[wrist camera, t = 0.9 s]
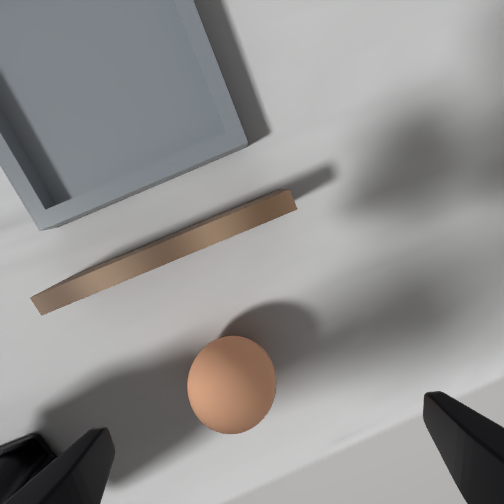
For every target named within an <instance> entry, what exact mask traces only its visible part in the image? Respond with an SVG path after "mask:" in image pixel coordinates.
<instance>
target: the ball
mask: <svg viewBox="0 0 504 504" xmlns="http://www.w3.org/2000/svg"><path fill="white" fill-rule="evenodd" d="M187 388H188V397H189V401H190V404H191V407H192V409H193V411H194V413H195V414H196V416H197V417H198V418H199V419H200V421H201V422H202V423H203V424H204V425H206V426H207V427H209V428H210V429H212V430H214V431H216V432H219V433H223V434H237V433H242V432H245V431H247V430H249V429H251V428H253V427H254V426H256V425H257V424H258V423H259V422H260V421H261V420H262V419H263V418H264V417H265V416H266V414H267V413H268V411H269V410H270V408H271V406H272V403H273V401H274V397H275V393H276V374H275V370H274V367H273V364H272V361H271V359H270V358H269V356H268V354H267V353H266V352H265V350H264V349H263V348H262V347H261V346H259V345H258V344H257V343H255V342H254V341H252V340H250V339H247V338H245V337H241V336H226V337H222V338H219V339H216V340H214V341H212V342H211V343H209V344H208V345H207V346H205V347H204V348H203V349H202V350H201V351H200V352H199V354H198V355H197V357H196V358H195V360H194V362H193V364H192V366H191V369H190V372H189V376H188V385H187Z"/></svg>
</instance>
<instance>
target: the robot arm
mask: <svg viewBox="0 0 504 504" xmlns="http://www.w3.org/2000/svg"><path fill="white" fill-rule="evenodd" d="M423 419H424V422H425V424H426V427H427V429H428V431H429V433H430V435H431V437H432V439H433V441H434V443H435V445H436V446H437V448H438V450H439V452H440V454H441V456H442V458H443V460H444V462H445V464H446V466H447V468H448V470H449V472H450V474H451V475H452V477H453V479H454V481H455V483H456V485H457V487H458V488H459V490H460V492H461V494H462V495H463V497H464V499H465V500H466V502H467V504H504V428H503V427H502V426H500V425H498V424H497V423H495V422H493V421H491V420H490V419H488V418H486V417H485V416H483V415H481V414H479V413H477V412H476V411H474V410H472V409H471V408H469V407H467V406H466V405H464V404H462V403H461V402H459V401H457V400H455V399H454V398H452V397H450V396H449V395H447V394H445V393H443V392H441V391H436V392H427V393H425V395H424V406H423ZM114 456H115V448H114V444H113V441H112V438H111V436H110V433H109V430H108V428H106V427H98V428H92V429H90V430H89V431H88V432H87V433H85V434H84V435H83V436H82V437H81V438H79V439H78V440H77V441H76V442H75V443H74V444H72V445H71V446H70V447H69V448H68V449H67V450H65V451H64V452H63V453H62V454H61V455H60V456H58V457H56V455H55V454H54V452H53V451H52V450H51V448H50V447H49V446H48V444H47V443H46V442H45V440H44V439H43V437H42V436H41V435H39V434H33V435H30V436H28V437H25V438H23V439H20V440H18V441H15V442H13V443H10V444H8V445H5V446H3V447H0V504H100V503H101V499H102V496H103V493H104V490H105V486H106V483H107V480H108V476H109V473H110V470H111V467H112V463H113V460H114Z"/></svg>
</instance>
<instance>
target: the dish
mask: <svg viewBox="0 0 504 504" xmlns="http://www.w3.org/2000/svg"><path fill="white" fill-rule="evenodd" d="M247 145H248V141H247V138H246V135H245V133H244V130H243V128H242V125H241V122H240V120H239V117H238V115H237V112H236V109H235V107H234V104H233V102H232V99H231V97H230V94H229V91H228V89H227V86H226V84H225V81H224V78H223V76H222V73H221V71H220V68H219V65H218V63H217V60H216V58H215V55H214V52H213V50H212V47H211V45H210V42H209V39H208V37H207V34H206V32H205V29H204V26H203V24H202V21H201V19H200V16H199V14H198V11H197V8H196V6H195V3H194V1H193V0H0V166H1V168H2V169H3V171H4V172H5V174H6V176H7V177H8V179H9V181H10V182H11V184H12V186H13V187H14V189H15V191H16V192H17V194H18V196H19V197H20V199H21V201H22V202H23V204H24V206H25V207H26V209H27V211H28V212H29V214H30V216H31V217H32V219H33V221H34V222H35V224H36V226H37V227H38V229H39V231H42V230H47V229H52V228H57V227H60V226H62V225H64V224H67V223H69V222H72V221H74V220H76V219H79V218H81V217H83V216H86V215H88V214H90V213H93V212H95V211H97V210H100V209H102V208H104V207H107V206H109V205H111V204H114V203H116V202H119V201H121V200H123V199H126V198H128V197H130V196H133V195H135V194H137V193H140V192H142V191H144V190H147V189H149V188H151V187H154V186H156V185H159V184H161V183H163V182H166V181H168V180H170V179H173V178H175V177H177V176H180V175H182V174H184V173H187V172H189V171H191V170H194V169H196V168H199V167H201V166H203V165H206V164H208V163H210V162H213V161H215V160H217V159H220V158H222V157H224V156H227V155H229V154H231V153H234V152H236V151H239V150H241V149H243V148H246V147H247Z"/></svg>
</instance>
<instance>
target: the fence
mask: <svg viewBox="0 0 504 504" xmlns="http://www.w3.org/2000/svg"><path fill="white" fill-rule="evenodd" d="M295 210H297V207H296V204H295V201H294V199H293V196H292V193H291V190H290V189H279V190H276V191H274V192H271V193H269V194H267V195H264V196H262V197H260V198H257V199H255V200H252V201H250V202H248V203H245V204H243V205H240V206H238V207H236V208H233V209H231V210H228V211H226V212H224V213H221V214H219V215H217V216H214V217H212V218H209V219H207V220H205V221H202V222H200V223H197V224H195V225H193V226H190V227H188V228H185V229H183V230H181V231H178V232H176V233H173V234H171V235H169V236H166V237H164V238H162V239H159V240H157V241H154V242H152V243H150V244H147V245H145V246H142V247H140V248H138V249H135V250H133V251H130V252H128V253H126V254H123V255H121V256H119V257H116V258H114V259H111V260H109V261H107V262H104V263H102V264H99V265H97V266H95V267H92V268H90V269H87V270H85V271H83V272H80V273H78V274H75V275H73V276H71V277H69V278H67V279H65V280H63V281H61V282H59V283H57V284H55V285H54V286H52V287H50V288H48V289H46V290H44V291H42V292H40V293H38V294H36V295H34V296H32V297H31V298H30V299H31V300H32V302H33V303H34V305H35V306H36V308H37V309H38V311H39V312H40V314H41V315H44V314H47V313H49V312H51V311H54V310H56V309H59V308H61V307H63V306H66V305H68V304H71V303H73V302H75V301H78V300H80V299H83V298H85V297H88V296H90V295H92V294H95V293H97V292H100V291H102V290H104V289H107V288H109V287H112V286H114V285H116V284H119V283H121V282H124V281H126V280H128V279H131V278H133V277H136V276H138V275H141V274H143V273H145V272H148V271H150V270H153V269H155V268H157V267H160V266H162V265H165V264H167V263H169V262H172V261H174V260H177V259H179V258H181V257H184V256H186V255H189V254H191V253H194V252H196V251H198V250H201V249H203V248H206V247H208V246H210V245H213V244H215V243H218V242H220V241H222V240H225V239H227V238H230V237H232V236H234V235H237V234H239V233H242V232H244V231H247V230H249V229H251V228H254V227H256V226H259V225H261V224H263V223H266V222H268V221H271V220H273V219H275V218H278V217H280V216H283V215H285V214H287V213H290V212H292V211H295Z"/></svg>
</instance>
